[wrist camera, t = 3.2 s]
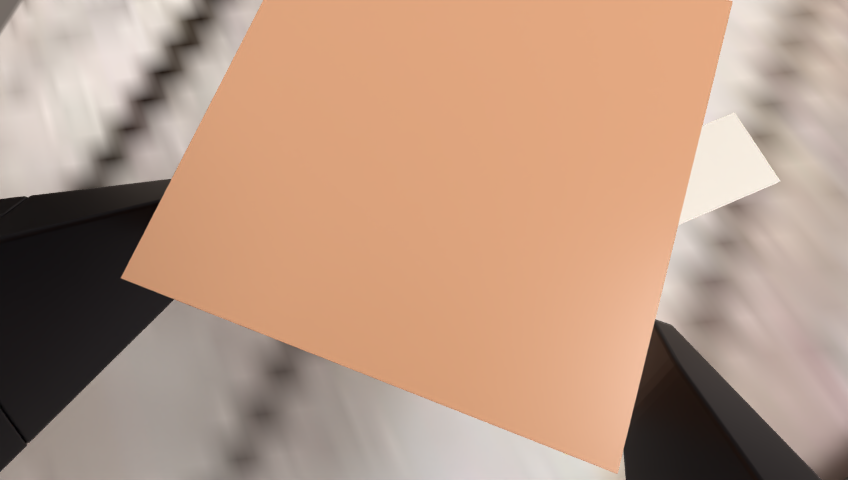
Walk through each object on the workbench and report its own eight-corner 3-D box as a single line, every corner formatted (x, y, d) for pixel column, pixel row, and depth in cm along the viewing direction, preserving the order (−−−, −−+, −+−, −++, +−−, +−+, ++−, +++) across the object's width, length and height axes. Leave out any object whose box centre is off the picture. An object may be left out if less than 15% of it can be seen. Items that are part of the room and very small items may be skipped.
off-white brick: (597, 259, 17) (630, 245, 14) (565, 198, 18) (590, 172, 15) (722, 206, 17) (780, 181, 14) (686, 147, 18) (734, 112, 15)
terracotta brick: (478, 356, 16) (617, 474, 3) (365, 314, 17) (120, 277, 4) (515, 243, 17) (733, 1, 4) (406, 206, 18) (316, -103, 5)
